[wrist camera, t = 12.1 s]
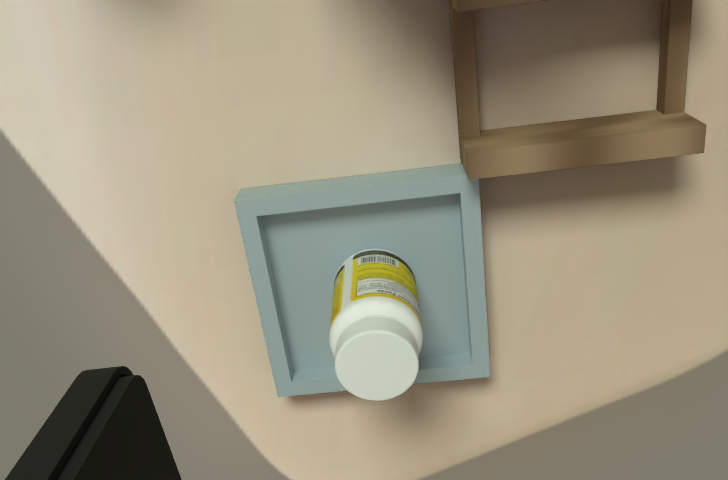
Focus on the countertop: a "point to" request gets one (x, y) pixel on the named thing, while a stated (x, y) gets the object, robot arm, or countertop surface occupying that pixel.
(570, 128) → the caddy
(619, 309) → the countertop surface
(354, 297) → the supplement bottle
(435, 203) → the tray
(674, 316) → the countertop surface
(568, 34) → the countertop surface
